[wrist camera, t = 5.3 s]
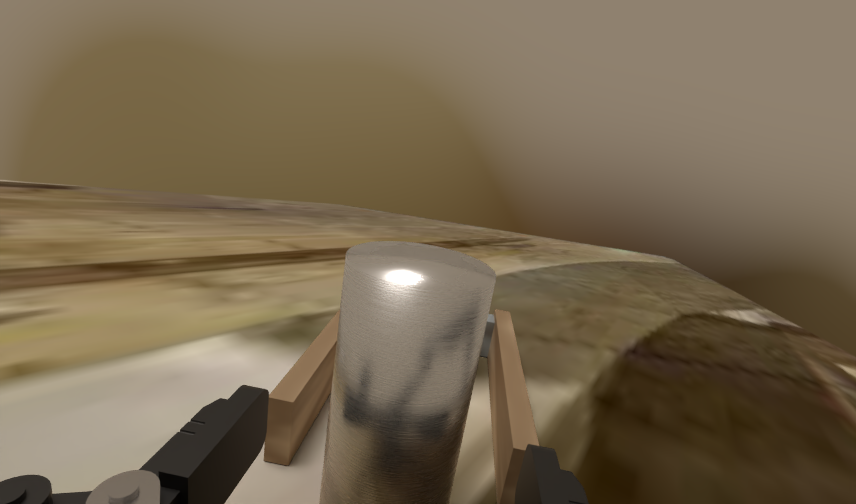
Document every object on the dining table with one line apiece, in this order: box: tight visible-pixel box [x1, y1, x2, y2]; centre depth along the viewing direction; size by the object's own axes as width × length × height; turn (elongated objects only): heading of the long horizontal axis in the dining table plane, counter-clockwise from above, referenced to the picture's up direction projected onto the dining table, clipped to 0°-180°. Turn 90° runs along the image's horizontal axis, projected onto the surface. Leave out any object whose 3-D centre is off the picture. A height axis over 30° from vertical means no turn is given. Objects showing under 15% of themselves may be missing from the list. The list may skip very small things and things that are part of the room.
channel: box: [264, 309, 539, 504], centre depth 27 cm, size 12×16×4 cm
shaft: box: [319, 241, 496, 504], centre depth 15 cm, size 5×5×12 cm
